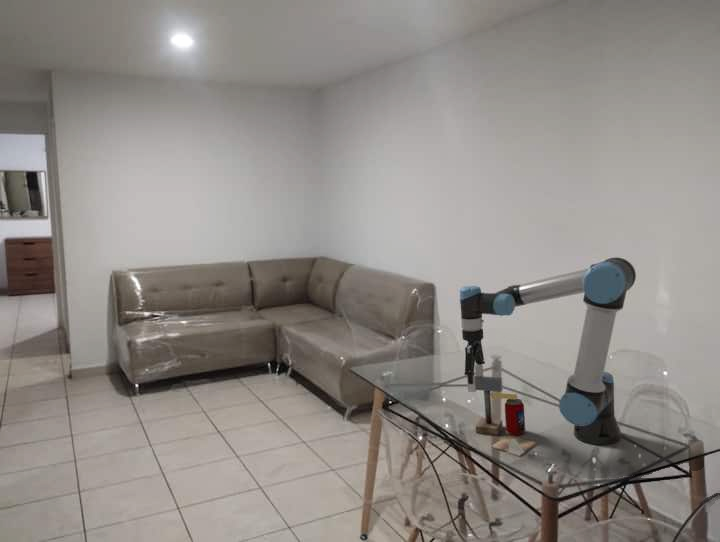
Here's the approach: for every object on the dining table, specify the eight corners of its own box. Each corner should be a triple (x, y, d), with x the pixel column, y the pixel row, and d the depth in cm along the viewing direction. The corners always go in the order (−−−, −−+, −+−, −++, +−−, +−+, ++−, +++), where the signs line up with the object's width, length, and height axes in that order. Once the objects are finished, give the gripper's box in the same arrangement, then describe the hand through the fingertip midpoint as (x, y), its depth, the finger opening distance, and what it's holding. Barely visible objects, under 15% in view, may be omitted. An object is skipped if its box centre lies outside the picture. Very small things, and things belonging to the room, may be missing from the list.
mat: (536, 444, 200) (536, 442, 200) (519, 456, 192) (519, 454, 192) (508, 436, 208) (508, 434, 208) (491, 447, 201) (491, 445, 200)
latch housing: (502, 426, 217) (502, 419, 217) (497, 435, 210) (497, 428, 209) (481, 424, 220) (480, 417, 220) (476, 432, 213) (475, 426, 213)
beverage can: (526, 436, 207) (524, 404, 205) (506, 436, 208) (504, 404, 207) (524, 428, 213) (523, 397, 212) (505, 428, 215) (504, 397, 213)
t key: (518, 423, 211) (516, 378, 209) (517, 426, 209) (515, 380, 207) (475, 419, 218) (472, 375, 216) (473, 422, 216) (470, 377, 214)
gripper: (474, 337, 199) (478, 398, 203) (490, 321, 220) (493, 376, 223) (453, 336, 203) (457, 396, 206) (470, 320, 223) (474, 375, 226)
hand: (476, 386), depth 215 cm, fingers open, 11 cm apart
